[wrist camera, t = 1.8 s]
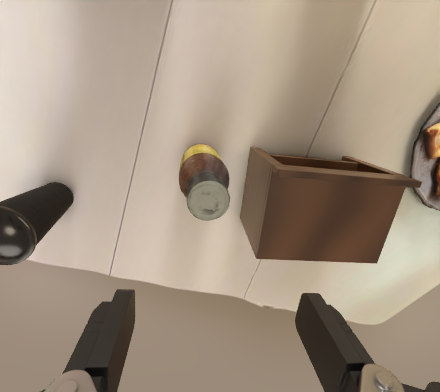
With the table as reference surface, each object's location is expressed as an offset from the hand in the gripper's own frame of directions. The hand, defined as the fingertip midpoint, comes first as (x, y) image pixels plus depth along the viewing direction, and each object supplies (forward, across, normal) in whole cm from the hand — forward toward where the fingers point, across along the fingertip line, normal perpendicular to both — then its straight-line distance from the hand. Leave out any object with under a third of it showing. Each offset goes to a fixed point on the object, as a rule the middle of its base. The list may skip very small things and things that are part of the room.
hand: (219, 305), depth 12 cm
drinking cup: (+32, +23, +8) cm, 40 cm away
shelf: (+32, -17, +4) cm, 36 cm away
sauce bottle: (+32, 0, 0) cm, 32 cm away
